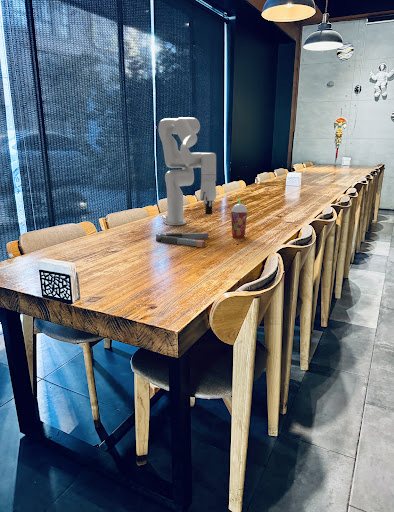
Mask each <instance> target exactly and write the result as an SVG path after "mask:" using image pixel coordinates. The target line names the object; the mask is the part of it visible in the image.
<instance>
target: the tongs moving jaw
mask: <svg viewBox="0 0 394 512" xmlns="http://www.w3.org/2000/svg"><path fill="white" fill-rule="evenodd" d="M163 236H172V237H179V238H186V239H194V240H200V239H202V240H203V239H209V238H210V237H209V236H210V235H209V232H208V231H205V232H204V231H202V232H186V233H184V232H183V233H182V232H170V233H167V232H166V233H156V234H155V241H157V242H162V237H163Z"/></svg>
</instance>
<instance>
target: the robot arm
mask: <svg viewBox="0 0 394 512" xmlns="http://www.w3.org/2000/svg"><path fill="white" fill-rule="evenodd" d="M200 129H201V124H200V121H199V120H198V119H197V118H196V117H190V116H187V117H183V116H181V117H180V116H179V117H178V118H177V117H176V118H175V117H173V118H171V117H168V118H167V117H166V118H163V119H161V120H160V121H159V122H158V135H159V138H160V141H161V144H162V149H163V155H164V161H165V163H164V164H165V165H166V167H167V168H171V170H167V172H166V173H165V175H164V181H165V186H166V187H165V188H166V204H167V205H166V207H167V211H166V212H167V215H162V220H165V221H164V224H165V225H167V226H168V225H169V226H182V225H183V226H184V225H185V224H187V221H186V220H184V192H183V190H182V188H180V187H185V186H186V187H188V186H192V185H193V184H194V182H195V174H194V173H195V172H194V169H197V168H200V170H201V171H200V174H201V175H200V180H201V181H200V193H199V194H200V200H199V201H202V203H203V204H204V207H205V210H204V211H205V215H212V214H213V206H214V205H213V204H214V202H215V199H216V198H217V188H216V187H217V186H216V182H217V154H216V153H215V152H199V151H198V152H197V151H196V152H191V151H190V148H191V147H193V146H194V145H196V144H197V142H198V136H197V134H198V133H199V132H200ZM173 135H178V138H179V139H180V142H181V144H180V150H179V147H178V146H179V145H178V142H177V140H176V139H175V138H174V136H173ZM174 168H175V169H174ZM177 168H178V169H177ZM179 168H181V169H179Z"/></svg>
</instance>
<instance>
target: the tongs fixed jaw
mask: <svg viewBox="0 0 394 512" xmlns="http://www.w3.org/2000/svg"><path fill="white" fill-rule="evenodd" d="M161 243H164V244H172V245H183V246H192V247H197V248H204V247H205V246H206V240H203V239H186V238H179V237H172V236H163V237H162V241H161Z"/></svg>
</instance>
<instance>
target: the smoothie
mask: <svg viewBox="0 0 394 512" xmlns="http://www.w3.org/2000/svg"><path fill="white" fill-rule="evenodd" d="M230 214H231V215H230V216H231V220H230V221H231V235H232V237H233V238H235V239H236V238H237V239H242V238H244V237H245V235H246V228H247V221H248V220H247V218H248V208H247V206H245V204H243V203H241V197H239V198H238V203H236V204H234V205H233V206H232V209H231V210H230Z"/></svg>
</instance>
